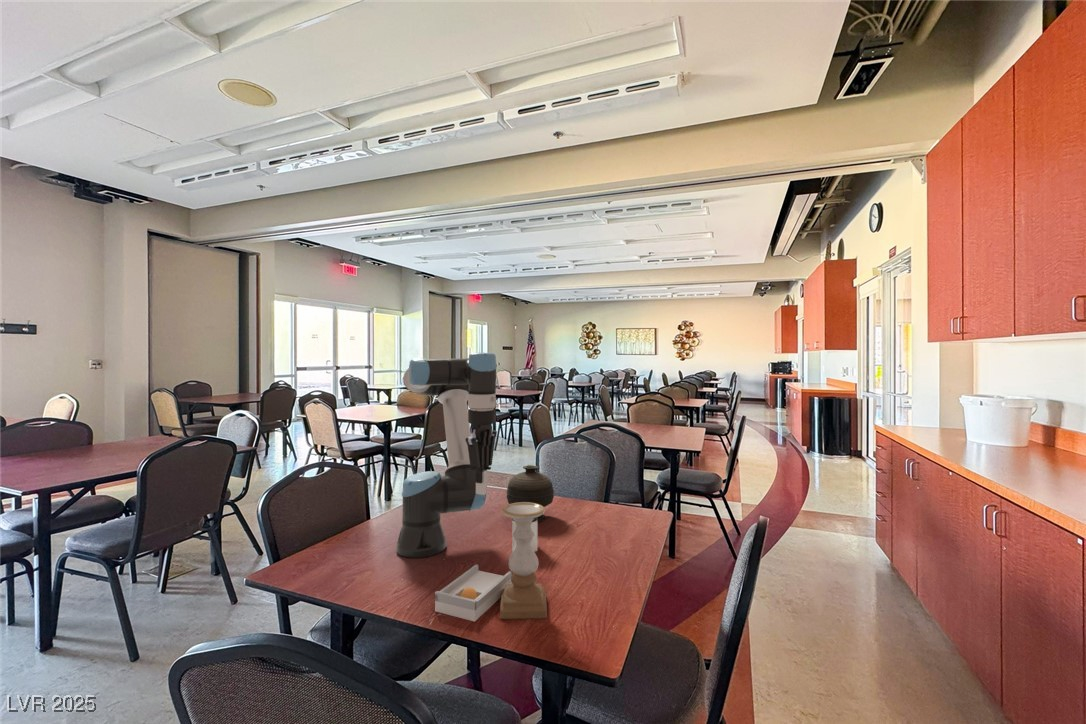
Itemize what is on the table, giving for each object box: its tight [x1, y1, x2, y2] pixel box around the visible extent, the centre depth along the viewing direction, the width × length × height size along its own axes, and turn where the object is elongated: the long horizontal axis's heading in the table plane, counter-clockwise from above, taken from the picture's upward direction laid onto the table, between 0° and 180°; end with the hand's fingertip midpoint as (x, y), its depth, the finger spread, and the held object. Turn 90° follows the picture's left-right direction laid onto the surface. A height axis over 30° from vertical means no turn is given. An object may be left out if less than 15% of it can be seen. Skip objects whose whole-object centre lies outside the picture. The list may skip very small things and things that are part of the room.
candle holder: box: [499, 502, 548, 620], centre depth 115 cm, size 11×11×24 cm
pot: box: [506, 464, 555, 522], centre depth 179 cm, size 18×18×20 cm
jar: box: [511, 517, 539, 553], centre depth 150 cm, size 9×8×12 cm
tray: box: [434, 564, 513, 622], centre depth 118 cm, size 11×18×4 cm, turn 156°
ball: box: [461, 588, 477, 600], centre depth 115 cm, size 4×4×4 cm
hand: (481, 493), depth 131 cm, fingers closed
